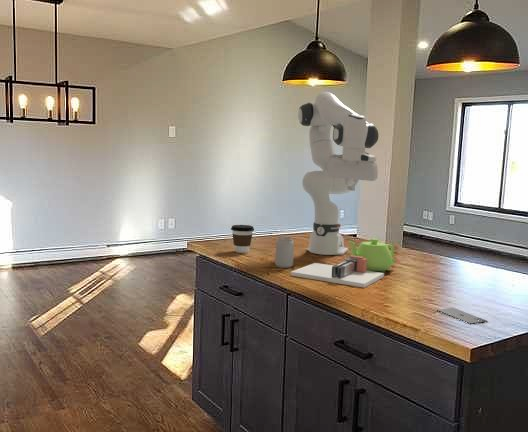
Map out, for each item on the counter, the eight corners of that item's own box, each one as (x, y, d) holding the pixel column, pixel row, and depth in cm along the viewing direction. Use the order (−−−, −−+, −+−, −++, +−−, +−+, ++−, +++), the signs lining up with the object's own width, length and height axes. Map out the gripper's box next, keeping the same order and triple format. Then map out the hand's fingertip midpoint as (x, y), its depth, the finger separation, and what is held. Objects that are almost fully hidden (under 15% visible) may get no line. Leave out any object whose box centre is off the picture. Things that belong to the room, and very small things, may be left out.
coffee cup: (258, 252, 263) (259, 227, 262) (238, 254, 257) (238, 228, 256) (245, 248, 272) (246, 224, 271) (225, 250, 266) (226, 225, 265)
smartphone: (453, 307, 182) (489, 320, 168) (453, 309, 182) (489, 323, 168) (435, 309, 178) (470, 323, 165) (435, 311, 179) (470, 326, 165)
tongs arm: (344, 270, 224) (345, 260, 224) (348, 270, 224) (348, 261, 223) (331, 276, 212) (332, 266, 212) (335, 277, 211) (335, 267, 211)
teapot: (353, 274, 225) (355, 242, 224) (338, 266, 240) (340, 236, 238) (402, 273, 231) (404, 241, 230) (385, 265, 246) (387, 235, 244)
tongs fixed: (348, 268, 229) (348, 257, 228) (359, 270, 226) (359, 258, 226) (329, 276, 213) (330, 264, 212) (341, 278, 210) (342, 266, 210)
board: (314, 266, 238) (315, 262, 238) (383, 276, 223) (384, 273, 223) (290, 275, 219) (290, 271, 219) (364, 287, 204) (364, 283, 204)
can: (291, 269, 231) (292, 240, 230) (273, 267, 233) (274, 238, 231) (294, 265, 238) (295, 237, 237) (276, 264, 240) (277, 236, 238)
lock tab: (351, 268, 228) (351, 255, 227) (366, 271, 225) (367, 257, 224) (348, 270, 225) (349, 256, 225) (363, 272, 222) (364, 258, 221)
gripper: (326, 154, 227) (323, 188, 229) (375, 157, 217) (372, 193, 219) (332, 153, 232) (329, 187, 234) (380, 157, 222) (377, 192, 225)
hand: (350, 190), depth 227 cm, fingers closed
